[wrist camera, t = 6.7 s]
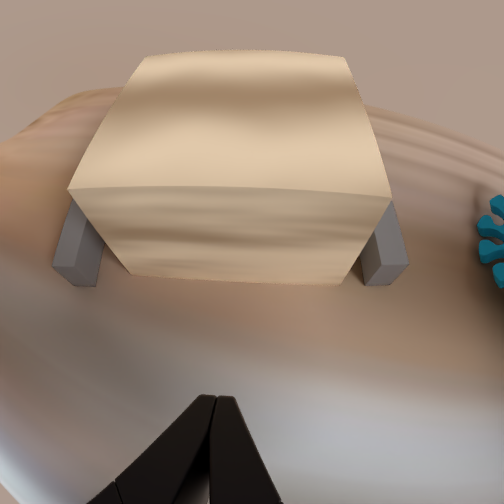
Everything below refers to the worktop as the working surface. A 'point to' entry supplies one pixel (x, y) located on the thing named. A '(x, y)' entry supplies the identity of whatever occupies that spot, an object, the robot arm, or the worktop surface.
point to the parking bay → (91, 243)
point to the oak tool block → (236, 169)
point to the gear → (487, 248)
